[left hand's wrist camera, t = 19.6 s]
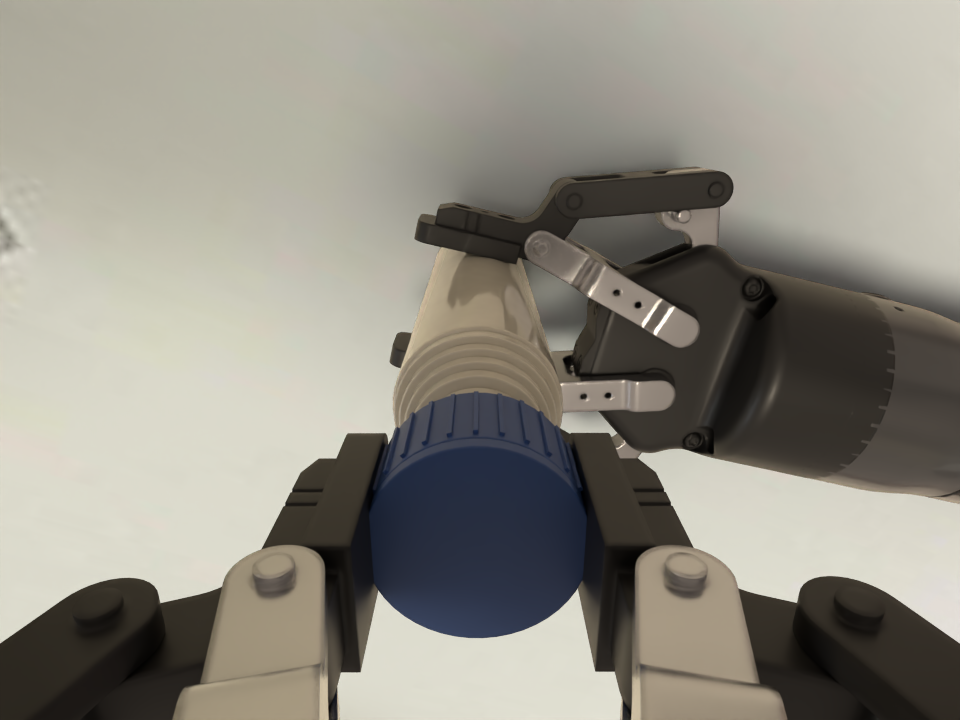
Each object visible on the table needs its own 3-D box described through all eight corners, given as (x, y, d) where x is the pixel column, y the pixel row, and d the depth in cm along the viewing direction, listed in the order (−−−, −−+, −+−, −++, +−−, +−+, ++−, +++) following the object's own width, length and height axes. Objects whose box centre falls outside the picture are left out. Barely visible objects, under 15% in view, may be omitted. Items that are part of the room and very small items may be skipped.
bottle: (516, 316, 31) (575, 630, 12) (431, 307, 30) (351, 609, 11) (528, 231, 29) (618, 429, 10) (439, 220, 29) (363, 402, 10)
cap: (338, 453, 12) (310, 518, 10) (509, 350, 11) (515, 398, 9) (450, 590, 13) (445, 673, 11) (612, 505, 12) (637, 577, 10)
